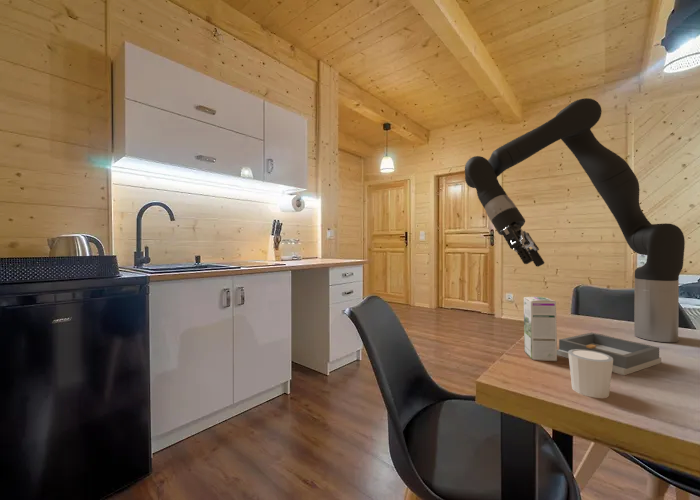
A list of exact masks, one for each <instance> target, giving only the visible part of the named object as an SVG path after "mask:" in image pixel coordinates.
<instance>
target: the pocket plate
mask: <svg viewBox="0 0 700 500" xmlns="http://www.w3.org/2000/svg"><path fill="white" fill-rule="evenodd" d="M558 342H559V343H558V345H559V346H558V347H559V348H557V356H560V357H563V358H567V359H569V355H568V351H569V350H573V349H583V350H591V351H596V352H600V353H604V354H606V355H609V356H611V357H612V358H613V367H612V373H615V374H618V375H621V376H626V375H630V374H632V373H635V372H638V371H641V370H644V369H647V368H650V367H652V366H657V365H659V364H662V357H660V347H658V346H653V345H649V344H645V343H640V342H636V341H631V340H627V339H623V338H618V337H614V336H609V335H604V334H600V333H596V332H587V333H584V334H579V335H573V336H569V337H565V338H560V339H558Z"/></svg>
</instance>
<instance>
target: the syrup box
mask: <svg viewBox="0 0 700 500" xmlns="http://www.w3.org/2000/svg"><path fill="white" fill-rule="evenodd" d="M557 323H558V322H557V301H556V300H553V299H551V298H549V297H546V296H524V297H523V333H524V334H523V341H524V342H523V343H524V345H523V347H524V348H523V349H524V353H525V354H526V355H527V356H528V357H529V358H530V359H531V360H533V361H547V362H557V361H558V355H557V350H558V333H557V331H558V329H557V328H558V327H557V326H558V325H557Z"/></svg>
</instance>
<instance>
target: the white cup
mask: <svg viewBox="0 0 700 500" xmlns="http://www.w3.org/2000/svg"><path fill="white" fill-rule="evenodd" d="M568 355H569V358H568V362H569V363H568V364H569V373H570V380H571V381H570V382H571V389H572V390H573V391H574V392H576V393H578V394H579V395H582V396H585V397H588V398H593V399H606V398H608V397H609V396H610V392H611V391H610V390H611V389H610V388H611V382H612V373H613V372H612V367H613V358H612V357H611V356H609V355H606V354H604V353H600V352H596V351H591V350H583V349H573V350H569V351H568Z"/></svg>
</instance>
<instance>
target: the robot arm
mask: <svg viewBox="0 0 700 500" xmlns="http://www.w3.org/2000/svg"><path fill="white" fill-rule="evenodd" d="M602 111H603V110H602V106H601V104H600V103H599V102H598V101H597V100H595V99H592V98H588V97H586V98H580V99H576V100H574V101H573V102H571V103H569V104H567V106H565V107H564V108H563V109H561V110H560V111H559V112H557V114H556V115H555V116H554V117H553V118H551V119H550V120H547V121H546V122H545V123H543V124H541V125H539V126H538V127H536V128H533V129H531V130H529V131H528V132H526V133H524V134H522V135H520V136H518V137H516V138H514V139H513V140H510V141H509V142H507V143H505V144H503V145H501V146H499V147H497V148H496V149H495V150H492V153H491V155H490V156H489V159H487V158H485V157H484V156H481V155H477V156H476V155H475V156H472V157H470V158H469V159H468V160H467V161H466V162H465V166H464V179H465V183H466V185H467V186H468V187H469V188H471V189H475V190H476V194H477V199H478V200H479V202H480V204H481V205H482V206H483V209H484V210H485V213H486V215H487V217H488V219H489V220H490V222H491V223H492V225H493V227H494V229H495V230H496V232H497V233H498V235H500V236H503V238H504V240H505V241H506V243H507V245H508V247H509V248H510V249H511V250H513V251H514V252H515V253H517V255H518V257H519V258H520V260H521V261H522V263H523V264H524V265H528V264H530V263H532V262H533V264H534V266H535V267H541V266H542V265H543V266H544V265H545V260H544V259H543V257H542V256H541V255H540V253H539V251H540V248H539V246H538V245H537V244H536V242H535V240H533V238H532V237H531V235H530V233H529V232H526V230H523V229H522V227H523V226H524V225H525V223H526V219H525V218H524V216H523V215H522V213H521V212H520V210H519V209H518V207H517V206H516V204H515V203H514V201H513V200H512V199H511V198H510V196H509V195H508V193H506V191H505V189H504V188H503V187H502V186H501V184H500V182H499V179H498V177H499V176H500V175H502V173H504V172H505V171H506V170H509V169H511V168H513V167H514V166H516V165H518V164H519V163H521V162H523V161H525V160H526V159H528V158H530V157H532V156H534V155H535V154H537V153H538V152H540V151H542V150H543V149H545V148H547V147H548V146H550V145H552V144H554V143H555V142H557V141H559V140H561V141H562V142H563V143H564V145H565V146H567V148H568V149H569V150H570V151H571V153H572V154H573V156H574V157H575V159H577V161H578V163H579V165H580V166H581V167H582V169H583V170H584V172H585V173H586V175H587V177H588V178H589V180H590V182H591V183H592V185H593V187H594V188H595V190H596V191H597V192H598V194H599V196H600V197H601V199H602V200H603V201H604V203H605V204H606V205H607V208H608V209H609V210H610V213H611V214H612V216H613V217H614V219H615V221H616V222H617V224H618V226H619V228H620V230H621V232H622V235H623V237H624V239H625V241H626V243H627V245H628V246H629V248H630V249H631V250H632V251H633V252H635V253H636V254H637V255H638V254H639V255H641V256H646V260H645V261H646V262H645V263H644V264H643V265H642V266H640V267H637V268H636V269H634V303H633V305H634V312H633V313H634V314H633V315H634V317H633V318H634V320H633V322H634V327H633V328H634V333H633V334H634V337H637V338H640V339H644V340H648V341H652V342H653V341H654V342H658V343H659V342H660V343H661V342H662V343H677V342H679V312H680V311H679V308H680V307H679V306H680V305H679V304H680V303H679V300H680V299H679V295H680V293H679V291H680V290H679V285H680V284H679V282H680V281H679V280H680V274H681V273H682V271H683V267H684V257H685V247H686V246H685V245H686V243H685V241H686V240H685V235H684V233H683V231H682V229H681V228H680V227H679V226H678V225H677V224H676V225H675V224H673V223H652V222H650V221H649V219H648V218H647V217H646V215H645V213H644V212H643V210H642V209H641V204H640V184H639V179H638V178H637V175H636V174H635V173H634V171H633V170H632V168H631V166H630V165H629V163H628V162H627V161H626V160H625V159H624V158H623V157H621V155H619V154H617V153H616V152H614V151H613V150H611V149H610V148H607V147H606V146H604V145H603V144H602V143H601V142H600V141H599V140H598V139H597V138H596V136H595V134H594V133H593V131H592V130H591V129H592V128H593V127H595V126H596V124H597V123H598V122H599V121H600V119H601V117H602ZM530 247H531V248H530Z"/></svg>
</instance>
